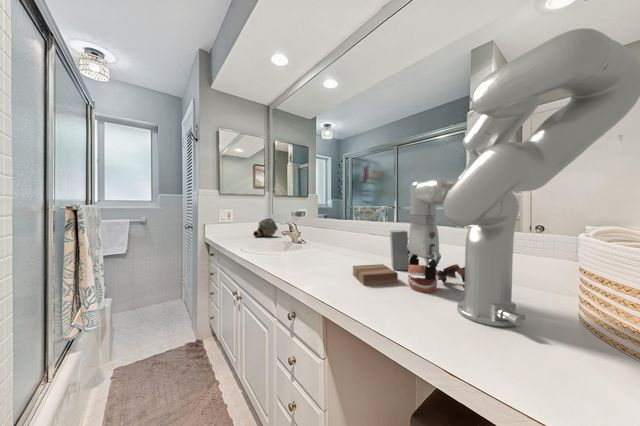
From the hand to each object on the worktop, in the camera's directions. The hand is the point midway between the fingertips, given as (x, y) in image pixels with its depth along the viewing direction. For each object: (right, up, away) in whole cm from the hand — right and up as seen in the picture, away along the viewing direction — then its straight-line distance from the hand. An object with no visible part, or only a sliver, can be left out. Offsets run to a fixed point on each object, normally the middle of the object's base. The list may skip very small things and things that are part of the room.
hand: (421, 274), depth 79 cm
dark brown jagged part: (+13, -5, +2) cm, 14 cm away
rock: (-78, 0, +122) cm, 145 cm away
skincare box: (+1, -4, +25) cm, 25 cm away
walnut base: (-13, -5, +11) cm, 17 cm away
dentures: (0, -5, 0) cm, 5 cm away
